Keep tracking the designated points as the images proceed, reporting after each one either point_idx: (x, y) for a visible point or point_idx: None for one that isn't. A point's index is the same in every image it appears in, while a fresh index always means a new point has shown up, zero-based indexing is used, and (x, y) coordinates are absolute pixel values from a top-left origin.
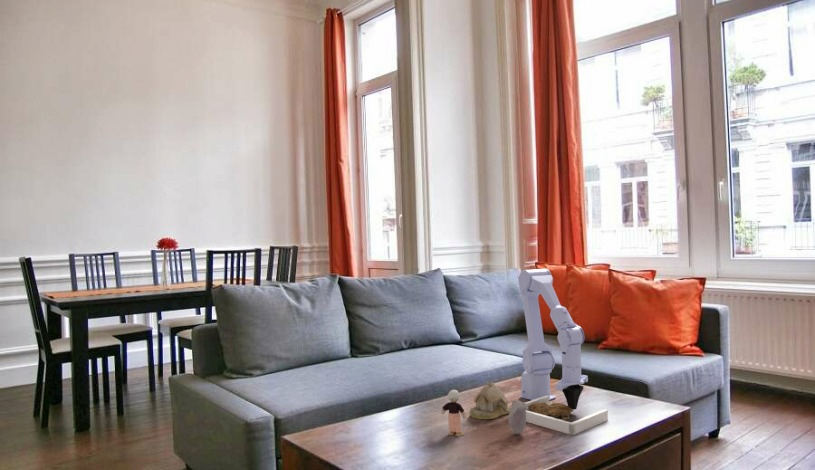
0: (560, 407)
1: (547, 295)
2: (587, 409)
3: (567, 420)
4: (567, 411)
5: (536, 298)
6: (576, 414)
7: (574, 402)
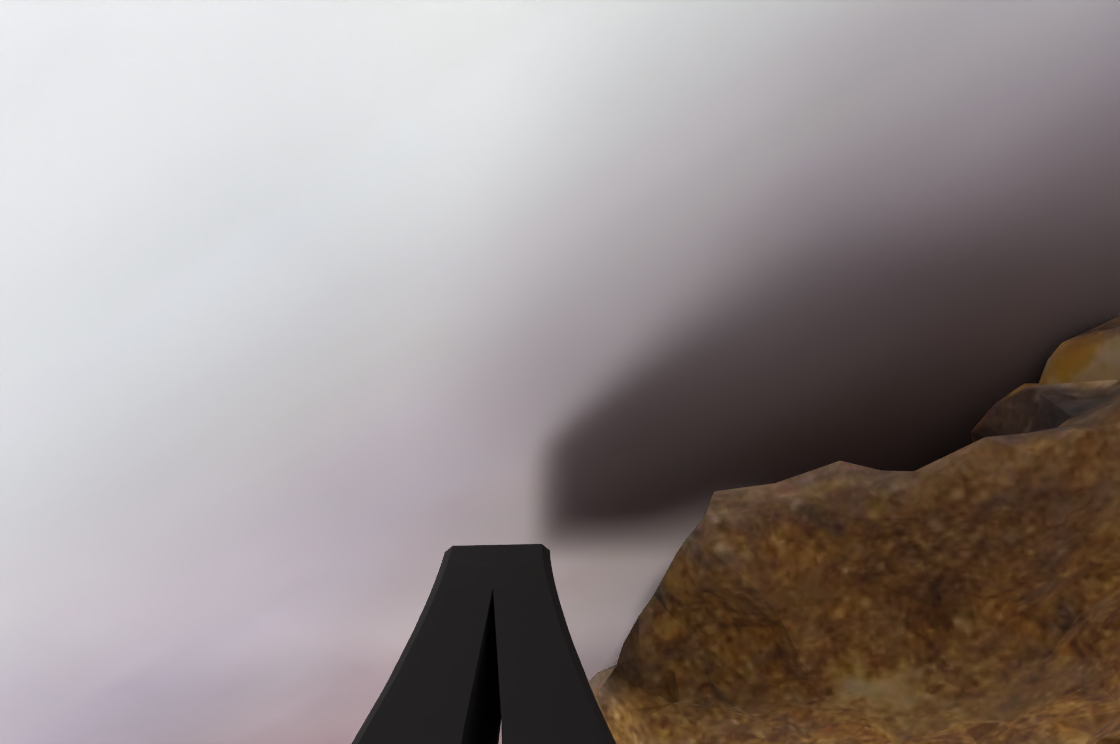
0: (1059, 687)
1: None
2: (52, 478)
3: (1113, 323)
4: None
5: None
6: (509, 447)
7: (586, 679)
